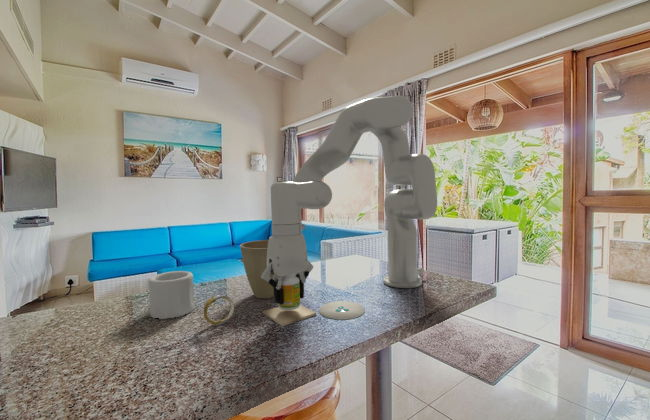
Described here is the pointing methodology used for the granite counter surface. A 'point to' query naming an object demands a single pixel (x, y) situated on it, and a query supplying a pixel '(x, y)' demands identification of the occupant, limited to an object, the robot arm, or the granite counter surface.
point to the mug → (171, 294)
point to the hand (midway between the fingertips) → (289, 299)
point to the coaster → (341, 310)
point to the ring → (209, 301)
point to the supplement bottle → (290, 292)
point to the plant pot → (257, 267)
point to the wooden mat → (288, 315)
